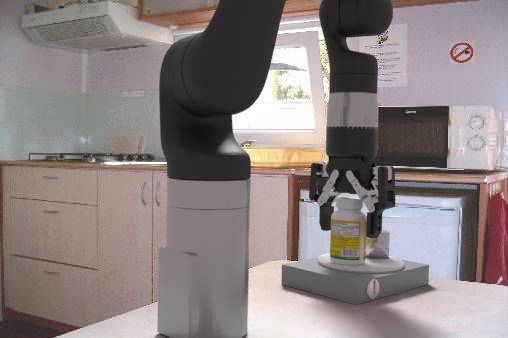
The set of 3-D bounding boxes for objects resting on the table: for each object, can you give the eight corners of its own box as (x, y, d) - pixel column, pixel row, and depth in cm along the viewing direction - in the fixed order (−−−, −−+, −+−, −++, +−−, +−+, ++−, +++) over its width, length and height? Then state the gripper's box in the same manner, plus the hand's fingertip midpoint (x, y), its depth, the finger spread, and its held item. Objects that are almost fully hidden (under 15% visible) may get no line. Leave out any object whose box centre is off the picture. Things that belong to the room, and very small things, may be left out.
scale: (358, 305, 76) (359, 278, 76) (281, 284, 87) (282, 260, 86) (430, 284, 88) (431, 261, 88) (355, 268, 99) (355, 247, 99)
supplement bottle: (348, 267, 82) (350, 200, 82) (322, 261, 86) (323, 197, 86) (373, 263, 86) (375, 199, 85) (346, 257, 90) (348, 196, 89)
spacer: (379, 260, 88) (379, 234, 88) (357, 256, 91) (358, 231, 91) (394, 257, 91) (394, 232, 90) (373, 253, 94) (373, 228, 93)
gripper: (408, 125, 82) (404, 238, 83) (331, 126, 93) (328, 225, 94) (377, 123, 77) (373, 243, 78) (299, 124, 88) (296, 230, 89)
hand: (349, 233), depth 86 cm, fingers open, 8 cm apart
